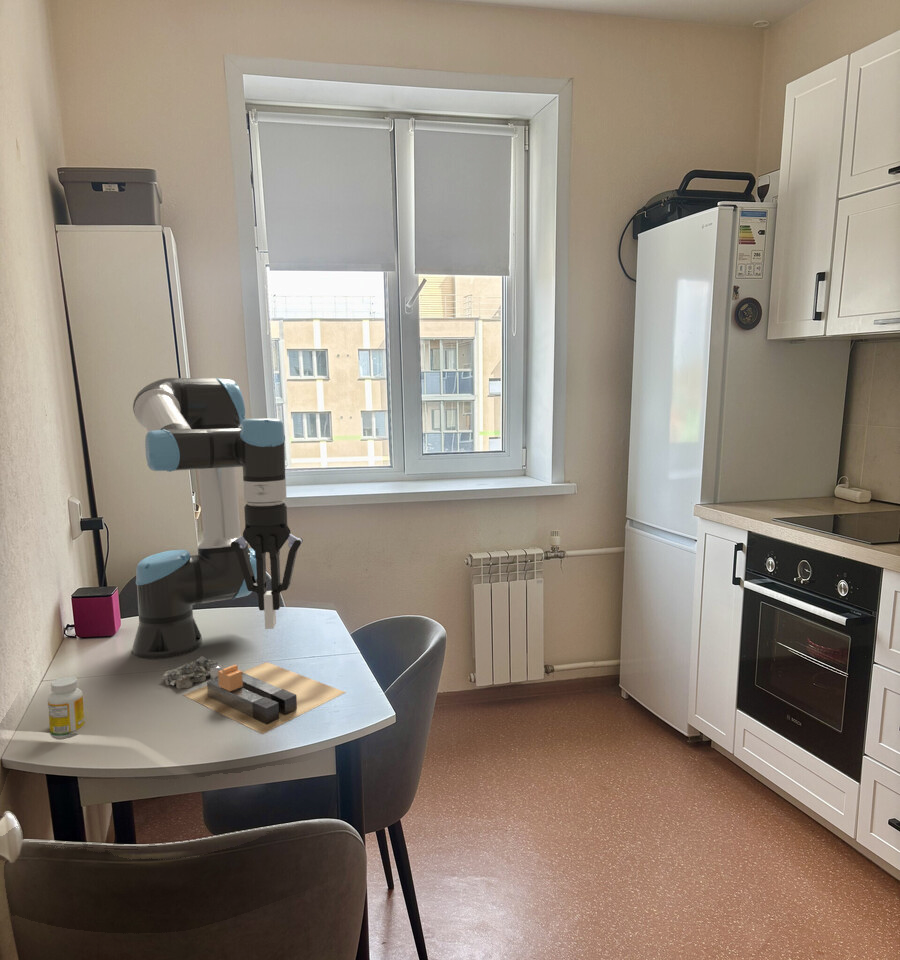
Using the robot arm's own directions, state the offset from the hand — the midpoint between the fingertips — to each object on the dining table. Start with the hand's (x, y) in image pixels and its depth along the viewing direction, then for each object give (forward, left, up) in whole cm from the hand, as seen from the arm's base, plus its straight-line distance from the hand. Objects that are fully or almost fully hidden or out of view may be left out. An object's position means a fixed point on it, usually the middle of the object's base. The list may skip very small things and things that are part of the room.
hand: (270, 626), depth 121 cm
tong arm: (-4, 0, -15) cm, 16 cm away
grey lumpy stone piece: (-24, -2, -17) cm, 29 cm away
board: (-5, +2, -17) cm, 17 cm away
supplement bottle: (-23, -27, -17) cm, 39 cm away
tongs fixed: (-5, -3, -15) cm, 17 cm away
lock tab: (-7, -4, -12) cm, 15 cm away
